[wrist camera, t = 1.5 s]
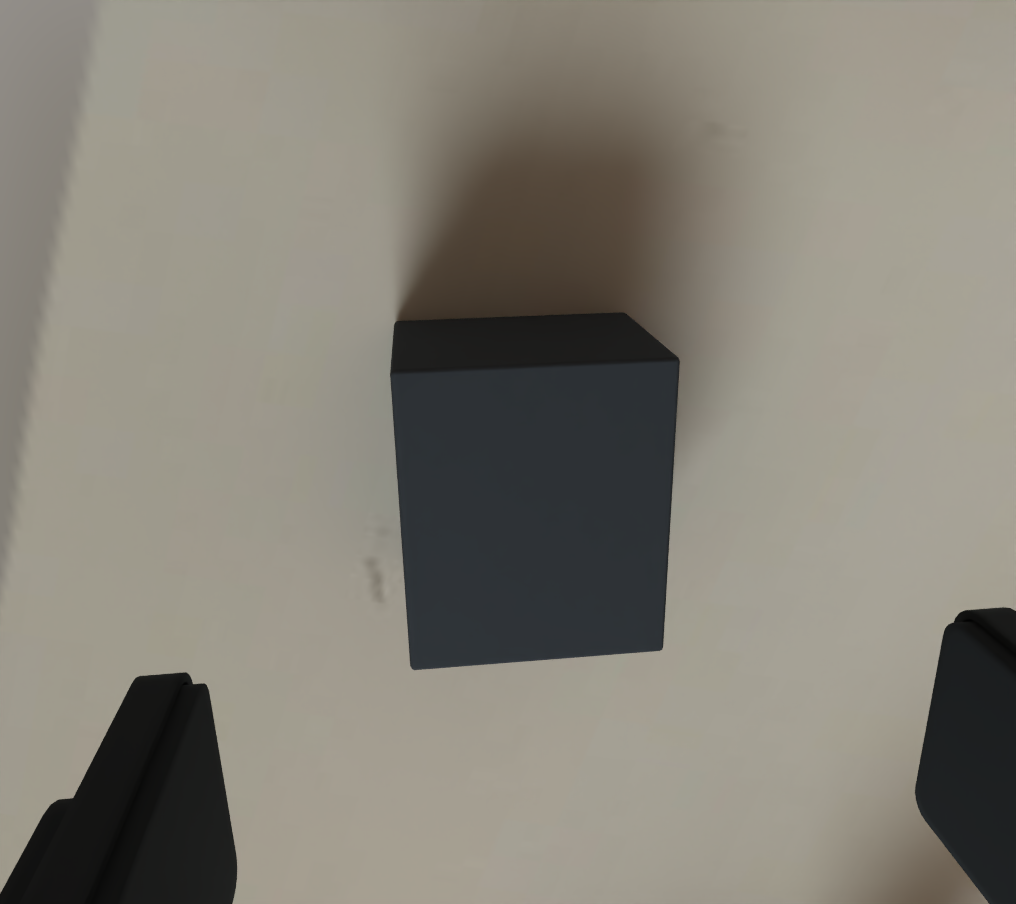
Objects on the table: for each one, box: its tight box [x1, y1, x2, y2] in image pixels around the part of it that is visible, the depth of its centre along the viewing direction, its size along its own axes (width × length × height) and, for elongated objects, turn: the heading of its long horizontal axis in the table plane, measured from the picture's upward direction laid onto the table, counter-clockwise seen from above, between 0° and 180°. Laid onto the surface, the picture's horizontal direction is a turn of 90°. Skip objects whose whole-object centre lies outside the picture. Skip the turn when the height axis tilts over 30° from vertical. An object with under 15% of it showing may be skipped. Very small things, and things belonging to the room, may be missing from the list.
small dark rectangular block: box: [390, 313, 680, 670], centre depth 17 cm, size 6×5×4 cm
